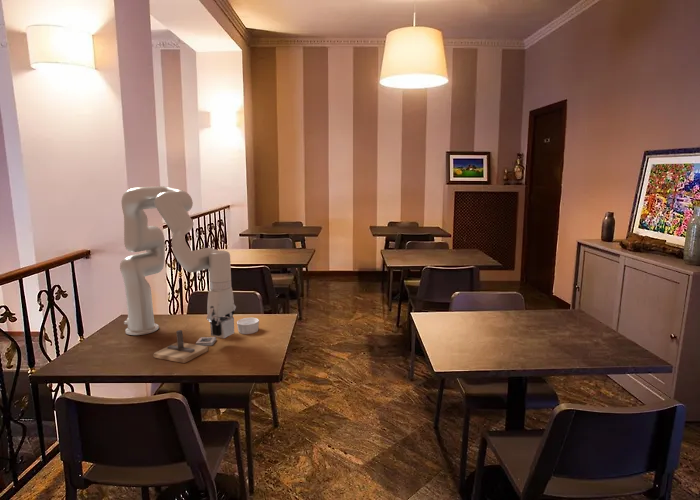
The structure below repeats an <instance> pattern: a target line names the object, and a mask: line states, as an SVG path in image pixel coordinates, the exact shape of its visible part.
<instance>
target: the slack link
mask: <svg viewBox="0 0 700 500" xmlns="http://www.w3.org/2000/svg"><path fill="white" fill-rule="evenodd" d="M216 341H217V337H215V336H206V337H205V336H202V337H199V339H198V340H197V341H196V342H195V345H201V346H207V347H210V346H213V345H214V344H215V343H216Z"/></svg>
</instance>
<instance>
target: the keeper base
mask: <svg viewBox="0 0 700 500" xmlns="http://www.w3.org/2000/svg"><path fill="white" fill-rule="evenodd" d="M175 333H176V342H175V343H172V344H170V345H168V346H166V347H164V348H162V349H160V350H157V351H155V352H153V354H152V355H153V358H155V359H160V360H165V361H166V360H167V361H171V362H176V363H182V364H185V363H187V362H190V361H191V360H193V359H196V358H197V357H199V356H201V355H202V354H205V353H206V352H208V351H209V346H201V345H196V343H195V344H194V343H187V342H184V335H183V333H184V332H183V330H181V329H179V330H178V329H177V330H176V332H175Z"/></svg>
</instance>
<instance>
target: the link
mask: <svg viewBox="0 0 700 500" xmlns="http://www.w3.org/2000/svg"><path fill="white" fill-rule="evenodd" d="M216 320H217V318H215V321H216ZM209 323H210V322H209ZM209 325H210V337H216V338H221V339H226V338H227V337H230V336H232V335H233V334H235V318H234V316H233V317H227V316H222V317H220V322H219V325H220V333H221V335H220V336H217V335H213V331H212V325H211V323H210V324H209Z"/></svg>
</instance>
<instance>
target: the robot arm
mask: <svg viewBox="0 0 700 500" xmlns="http://www.w3.org/2000/svg"><path fill="white" fill-rule="evenodd" d="M193 202H194V201H193V199H192V196H191V195H190V194H189V193H188V192H186V191H185V190H181V189H179V188H178V189H177V188H173V187H168V186H163V185H162V186H160V185H159V186H157V185H156V186H140V187H133V188H132V187H131V188H130V189H127V190H126V191H125V192H123V194H122V197H121V210H122V213H123V243H124V244H123V245H124V247H125V249H126V250H127V251H128V252H130V253H136V254H131V255H127V256H126V257H124V258H122V260H121V262H120V264H119V269H120V274H121V276H122V279H123V285H124V291H125V299H126V308H127V318H126V320H124V321H123V324H124V325H127V328H125V330H124V331H125V334H126V335H131V336H140V335H147V334H151V333H154V332H156V331H157V330H159V328H160V327H159V324H158V323H155V318H154V317H155V316H154V307H153V304H154V303H153V294H152V287H151V285H150V282H149V281H148V280H147V279H146V277H148V276H153V275H156V274H158V273H159V274H160V273H161V272H162V271H163V270H164V266H165V259H166V258H165V257H166V256H165V254H166V253H165V249H166V241H165V240H166V239H165V235H164V232H163V231H162V229H161V228H160V227H158V226H155V225H149V226H148V221H149V220H148V219H149V218H148V216H147V214H146V212H145V210H149V209H151V210H152V209H156V210H157V211H158V213H159V215H160V216H161V217H162V219H163V222H164V223H166V225H167V226H168V229H170V232H171V233H172V236H171V247H172V253H173V255H174V258H175V259H176V260H177V262H178V263H179V265H180V266H181V267H182V268H183V269H184V270H185V271H186V272H189V273H197V272H200V271H204V270H208V272H209V289H208V292H207V293H208V294H207V302H206V303H207V307H206V310H207V315H206V320H207V321H208V322H209V323H211V325H212V331H213V335H217V336H220V335H221V333H220V325H219V322H220V317H222V316H224V315H225V316H227V317H233V318H234V314H235V311H236V310H237V309H236V308H237V305H235V301H234V299H235V297H234V291H233V287H232V271H231V270H232V269H231V264H232V263H231V255H230V252H229V251H226V250H218V249H215V248H212V247H206V248H201V249H200V248H199V249H195V250H191V249H190V247H189V246H188V243H187V242H186V238H185V237H186V235H187V234H188V233H189V232H190V231H192V229H193V228H194V224H195V223H194V220H193V219H192V218H191V216H190V214H189V213H188V212H189V211H190V210H191V209H192V208H193V204H194V203H193ZM145 251H146V252H145ZM139 252H142V253H139ZM215 315H216V316H215ZM215 318H217V320H216V321H215Z"/></svg>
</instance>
